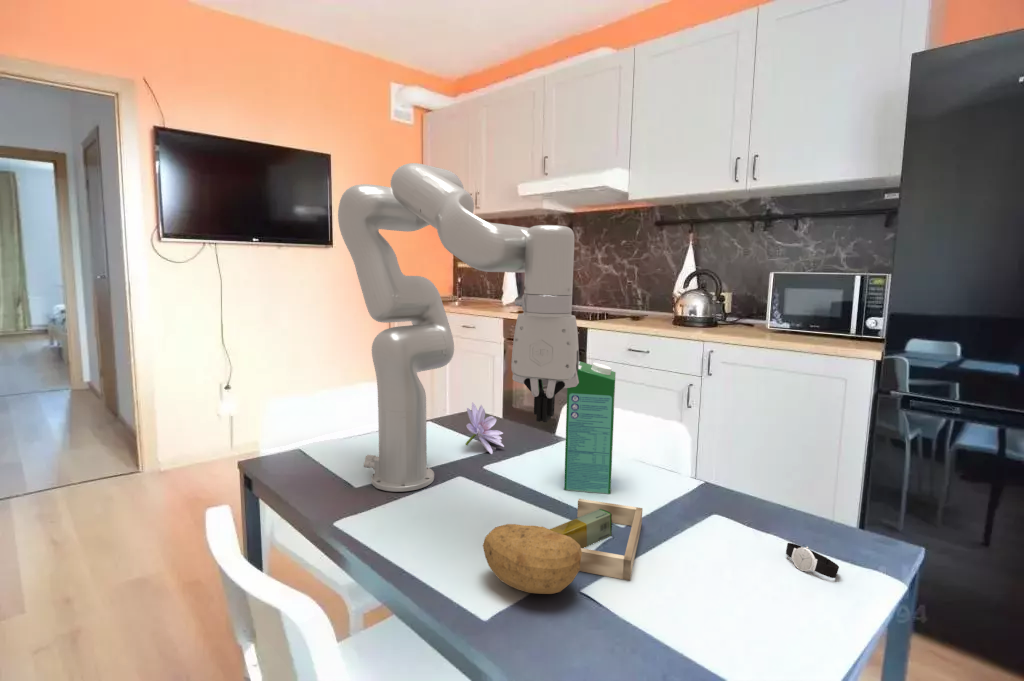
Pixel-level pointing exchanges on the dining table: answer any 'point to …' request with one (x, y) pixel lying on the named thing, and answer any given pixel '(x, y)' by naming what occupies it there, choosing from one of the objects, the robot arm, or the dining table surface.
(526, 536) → the potato
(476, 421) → the water lily
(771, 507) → the dining table surface
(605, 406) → the milk carton
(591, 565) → the u-shaped wooden frame
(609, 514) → the medication box
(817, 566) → the watch
